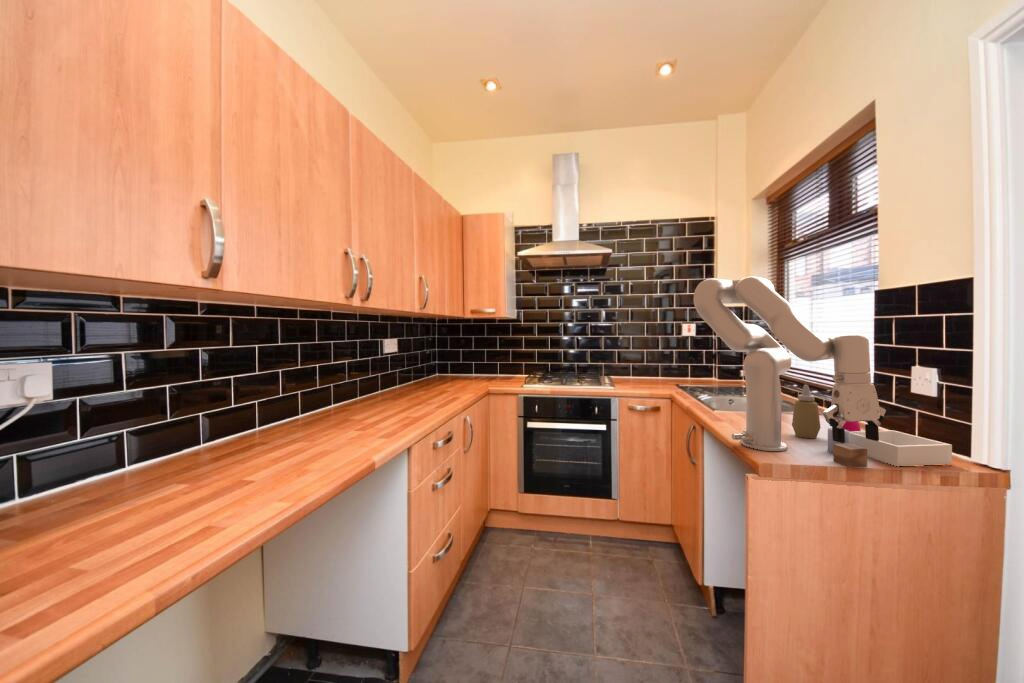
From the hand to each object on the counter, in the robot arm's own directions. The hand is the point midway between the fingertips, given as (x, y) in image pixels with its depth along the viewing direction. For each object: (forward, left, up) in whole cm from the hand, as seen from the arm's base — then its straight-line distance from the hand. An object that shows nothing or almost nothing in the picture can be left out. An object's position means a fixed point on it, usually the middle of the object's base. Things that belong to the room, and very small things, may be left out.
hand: (855, 440), depth 107 cm
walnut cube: (-1, +1, -7) cm, 7 cm away
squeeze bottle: (+9, +28, -7) cm, 30 cm away
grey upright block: (+4, +10, -7) cm, 13 cm away
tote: (+17, +5, -7) cm, 19 cm away
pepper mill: (+17, +21, -7) cm, 28 cm away
